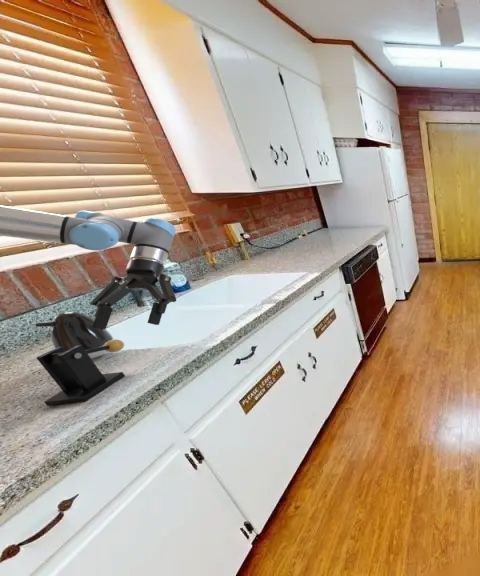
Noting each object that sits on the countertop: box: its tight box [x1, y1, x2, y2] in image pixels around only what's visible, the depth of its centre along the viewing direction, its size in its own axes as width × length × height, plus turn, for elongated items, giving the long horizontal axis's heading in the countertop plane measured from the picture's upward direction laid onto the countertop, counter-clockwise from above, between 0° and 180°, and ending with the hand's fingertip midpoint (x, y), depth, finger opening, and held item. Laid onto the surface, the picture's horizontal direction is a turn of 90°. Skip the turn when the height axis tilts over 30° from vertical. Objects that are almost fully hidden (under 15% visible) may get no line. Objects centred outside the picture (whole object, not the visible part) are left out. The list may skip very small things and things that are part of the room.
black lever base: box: [36, 345, 126, 407], centre depth 76 cm, size 10×8×13 cm
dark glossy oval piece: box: [34, 311, 114, 360], centre depth 89 cm, size 10×10×15 cm
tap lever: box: [50, 339, 125, 364], centre depth 80 cm, size 14×4×4 cm, turn 11°
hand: (126, 326), depth 89 cm, fingers open, 13 cm apart
